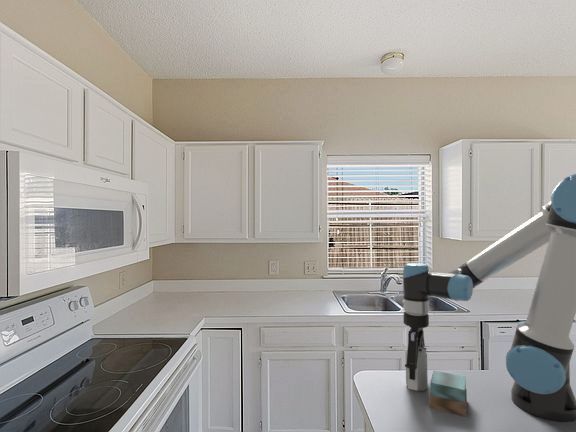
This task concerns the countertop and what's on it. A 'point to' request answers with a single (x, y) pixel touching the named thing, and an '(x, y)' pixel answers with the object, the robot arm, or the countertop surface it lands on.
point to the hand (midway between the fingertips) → (416, 379)
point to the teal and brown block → (448, 393)
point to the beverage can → (420, 369)
